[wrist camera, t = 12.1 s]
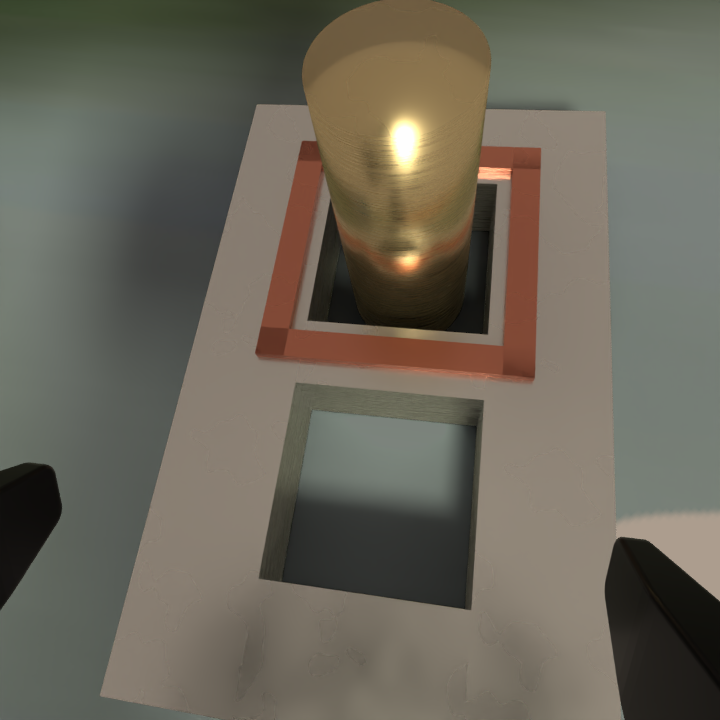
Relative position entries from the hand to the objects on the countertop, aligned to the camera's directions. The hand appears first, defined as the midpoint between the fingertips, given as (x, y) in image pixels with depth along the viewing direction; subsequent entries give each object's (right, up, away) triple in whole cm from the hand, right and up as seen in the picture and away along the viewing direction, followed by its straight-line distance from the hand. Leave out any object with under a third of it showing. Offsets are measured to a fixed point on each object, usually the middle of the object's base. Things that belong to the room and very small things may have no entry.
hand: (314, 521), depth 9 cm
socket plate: (+2, +1, +13) cm, 13 cm away
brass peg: (+3, +5, +14) cm, 16 cm away
